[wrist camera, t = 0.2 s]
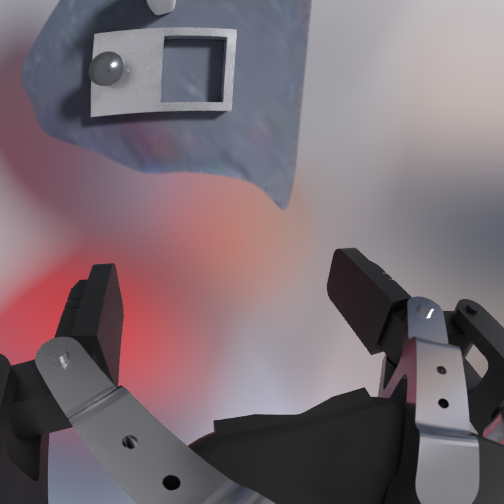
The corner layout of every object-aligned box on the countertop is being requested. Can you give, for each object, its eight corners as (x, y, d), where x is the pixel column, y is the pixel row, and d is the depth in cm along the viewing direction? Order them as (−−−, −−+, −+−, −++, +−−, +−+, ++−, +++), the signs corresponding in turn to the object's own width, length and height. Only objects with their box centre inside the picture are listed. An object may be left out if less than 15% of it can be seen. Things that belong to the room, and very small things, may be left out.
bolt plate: (98, 37, 26) (85, 26, 20) (233, 33, 30) (245, 21, 24) (94, 116, 30) (81, 119, 25) (228, 110, 34) (239, 112, 29)
